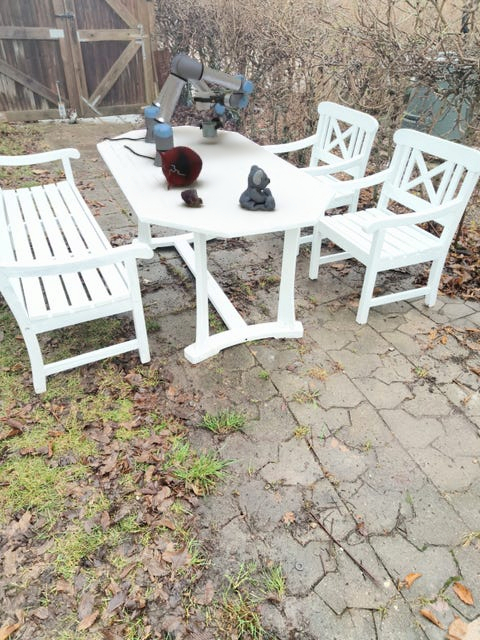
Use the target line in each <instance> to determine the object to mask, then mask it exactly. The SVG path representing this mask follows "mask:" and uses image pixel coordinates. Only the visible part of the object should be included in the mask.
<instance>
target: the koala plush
mask: <svg viewBox="0 0 480 640" xmlns="http://www.w3.org/2000/svg"><path fill="white" fill-rule="evenodd" d="M270 183H271V178H269V176H268V175H267V173H266V172H265V170H264V169H263V168H261V167H259V165H257V164H253V165H250V170H249V173H248V176H247V188H246V189H245V190H244V191H243V192H242V193H241V194H240V197H239V199H238V203H239V204H240V206H241V207H242V208H246V209H247V210H252V211H255V210H261V211H272V210H274V209H275V208H276V200H275V198H274V196H273V194H272V191H271V188H270V187H268V186H269V185H270Z"/></svg>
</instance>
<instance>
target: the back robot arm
mask: <svg viewBox="0 0 480 640" xmlns="http://www.w3.org/2000/svg"><path fill="white" fill-rule="evenodd" d="M179 55H184V56H187V57H190V56H189V55H188V54H186V53H183V52H182V53H181V52H180V53H178V54H177V55H176V56H179ZM171 70H172V65H171V66H170V71H171ZM170 80H171V76H170V74H169V75H168V77H167V78H166V80H165V82H164V84H163V86H162V88H161V90H160V92H159V94H158V95H157V98H156V99H154V100H153V101H152V102H151V104H150V106H147V107H145V108H144V112H143V114H144V120H145V121H144V122H145V128H146V133H145V137H139V138H131V137H119V138H110V137H103V139H102V141H105V140H109V141H120V140H130V141H140V140H145V142H146V143H149V144H155V141H153V140H152V139H151V137H150V135H149V132H148V129H149V126H150V124H151V123H153V120H154V117H157V116H158V113H159V111H160V108H161V105H162V102H163V99H164V97H165V94H166V91H167V88H168V85H169V83H170ZM188 82H189V83H190V84H191V85H192V87H194V89H195V90H196V92H209V93H210V96H212V95H214V96H217V95H216V94H215V93H214V92H213V91H212V90H211V88H210V87H209V86H208V85H207V84H206V83H205V81H204V80H200V81H199V80H195V79H188ZM210 108H212V109H213V110H214V111H215V112H214V114H215V115H214V116H213V117H212V118H211V120H210V121H209V120H208V121H207V120H205V121H202V122H199V124H198V125H199V130H202V123H204V122H215V123H217V125H216V126H215V130H217V131H218V129H223V128H224V124H225V123H226V121H227V115H226V106H220V104H219V103H210Z"/></svg>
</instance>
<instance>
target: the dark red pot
mask: <svg viewBox="0 0 480 640" xmlns="http://www.w3.org/2000/svg"><path fill="white" fill-rule="evenodd" d="M158 152H159V154H160V155H161V157H162V158H161V160H162V167H161V173H162V174H163V176H164V178H165V180H166V182H167V190H169V191H170V188H171V185H172V186H177V187H178V186H180V187H183V186H188V185H191V184H193V183H194V182H195V181H196V180H198V177H199V176H200V174H201V172H202V169H203V159H202V157H201V156H200V155H199V154H198V153H197V152H196V151H195V150H193V149H192V148H191V147H188V146H183V145H178V146H174V148H172V149H170V150H168V151H166V152H165V153H164V154H162V152H161V151H160V150H158Z"/></svg>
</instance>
